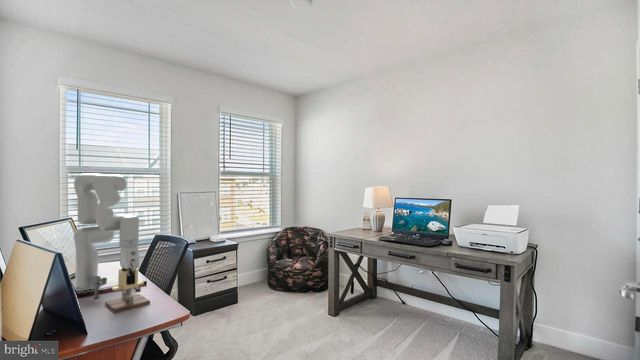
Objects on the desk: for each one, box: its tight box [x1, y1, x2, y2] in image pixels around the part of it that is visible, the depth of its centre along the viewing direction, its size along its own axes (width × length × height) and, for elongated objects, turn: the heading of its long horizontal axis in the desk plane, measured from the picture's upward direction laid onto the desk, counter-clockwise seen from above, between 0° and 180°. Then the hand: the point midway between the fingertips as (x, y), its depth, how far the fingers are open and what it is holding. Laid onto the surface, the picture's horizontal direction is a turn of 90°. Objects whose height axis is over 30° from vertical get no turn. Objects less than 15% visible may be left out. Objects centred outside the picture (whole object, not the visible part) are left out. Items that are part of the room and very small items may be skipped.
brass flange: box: [111, 267, 145, 292], centre depth 143 cm, size 12×6×8 cm, turn 140°
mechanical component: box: [86, 275, 108, 299], centre depth 151 cm, size 3×10×10 cm, turn 79°
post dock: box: [104, 288, 151, 314], centre depth 143 cm, size 13×14×8 cm
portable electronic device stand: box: [121, 285, 141, 294], centre depth 162 cm, size 9×8×8 cm
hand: (128, 282), depth 143 cm, fingers closed on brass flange, 5 cm apart
